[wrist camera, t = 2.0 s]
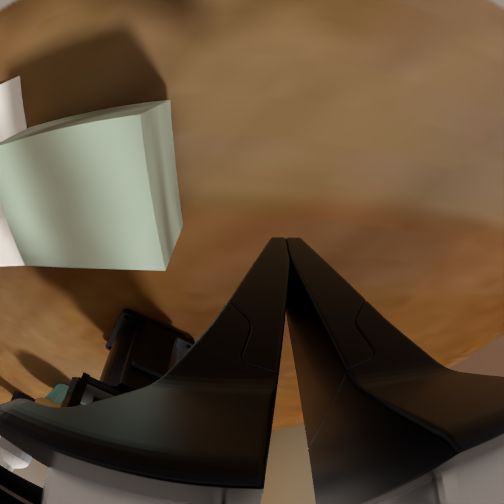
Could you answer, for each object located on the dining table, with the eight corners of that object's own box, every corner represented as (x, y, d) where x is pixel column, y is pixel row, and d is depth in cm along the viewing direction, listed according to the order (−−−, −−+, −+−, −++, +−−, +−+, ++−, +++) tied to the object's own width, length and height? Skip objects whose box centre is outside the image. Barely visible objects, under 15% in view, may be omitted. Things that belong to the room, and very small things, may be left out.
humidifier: (40, 401, 38) (6, 518, 18) (55, 418, 43) (28, 523, 22) (7, 386, 37) (-29, 494, 17) (24, 405, 42) (-6, 503, 22)
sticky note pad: (173, 97, 13) (140, 114, 9) (185, 219, 17) (165, 270, 13) (37, 123, 13) (-15, 150, 10) (61, 222, 17) (25, 265, 14)
